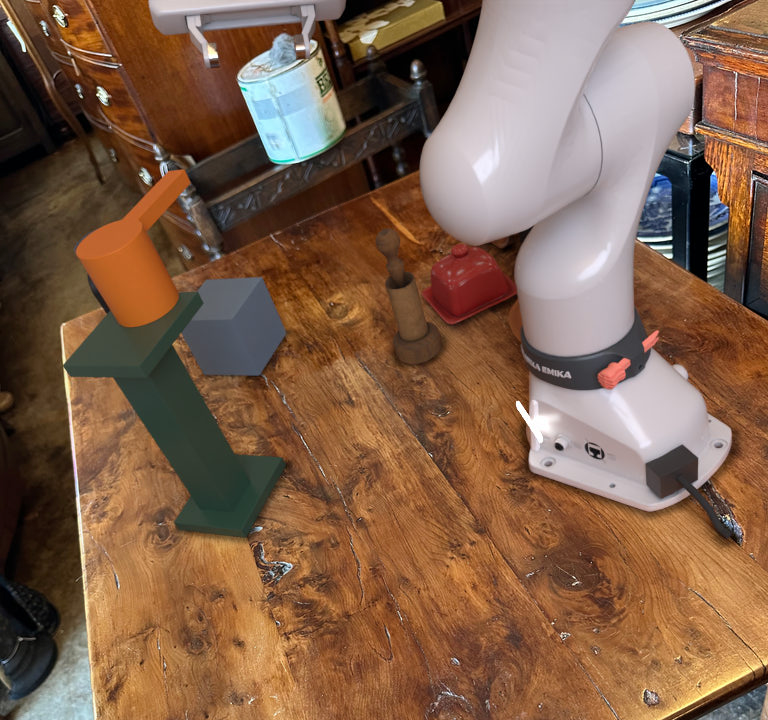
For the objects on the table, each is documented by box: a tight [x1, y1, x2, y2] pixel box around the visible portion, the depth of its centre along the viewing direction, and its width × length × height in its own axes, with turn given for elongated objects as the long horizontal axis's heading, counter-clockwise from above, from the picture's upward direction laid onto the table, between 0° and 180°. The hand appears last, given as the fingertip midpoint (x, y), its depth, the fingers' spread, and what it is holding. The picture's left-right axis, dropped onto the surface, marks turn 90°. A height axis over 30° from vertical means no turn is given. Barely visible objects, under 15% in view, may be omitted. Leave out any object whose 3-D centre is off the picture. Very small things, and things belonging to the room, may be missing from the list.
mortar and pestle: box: [375, 228, 443, 365], centre depth 102 cm, size 7×6×18 cm
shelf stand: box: [62, 291, 287, 539], centre depth 90 cm, size 12×10×26 cm
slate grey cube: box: [180, 276, 287, 377], centre depth 117 cm, size 10×10×10 cm
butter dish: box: [421, 243, 517, 325], centre depth 111 cm, size 12×12×8 cm
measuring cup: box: [75, 168, 191, 327], centre depth 82 cm, size 17×7×8 cm, turn 160°
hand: (258, 60), depth 82 cm, fingers open, 8 cm apart
